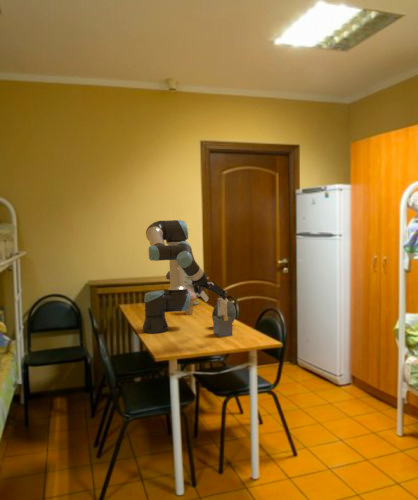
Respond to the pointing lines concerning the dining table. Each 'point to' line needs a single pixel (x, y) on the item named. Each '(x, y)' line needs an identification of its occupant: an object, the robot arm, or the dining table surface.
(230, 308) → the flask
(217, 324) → the stand base
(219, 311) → the column
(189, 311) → the ice cream cone
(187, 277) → the sculpture
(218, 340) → the dining table surface
